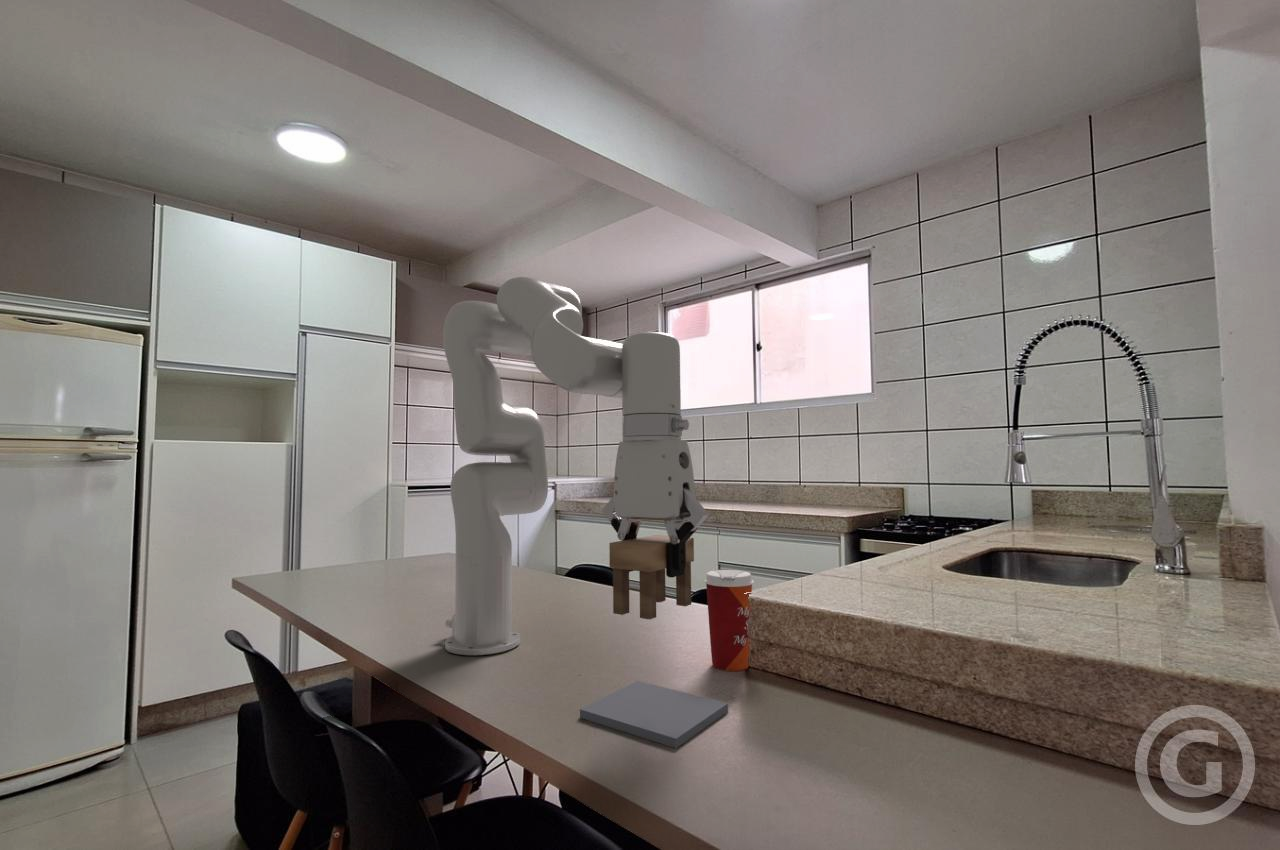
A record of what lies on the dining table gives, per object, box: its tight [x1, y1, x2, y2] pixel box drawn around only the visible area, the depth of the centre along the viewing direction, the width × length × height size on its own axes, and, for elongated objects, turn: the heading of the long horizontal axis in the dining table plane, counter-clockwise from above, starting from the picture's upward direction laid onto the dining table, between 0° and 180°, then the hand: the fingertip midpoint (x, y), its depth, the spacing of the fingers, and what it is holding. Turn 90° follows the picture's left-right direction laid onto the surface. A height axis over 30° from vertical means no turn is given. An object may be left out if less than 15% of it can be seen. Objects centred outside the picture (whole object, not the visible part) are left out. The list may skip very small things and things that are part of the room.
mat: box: [579, 680, 729, 749], centre depth 74 cm, size 14×12×1 cm
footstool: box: [608, 534, 695, 620], centre depth 76 cm, size 10×6×8 cm, turn 144°
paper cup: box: [703, 569, 755, 672], centre depth 93 cm, size 8×8×14 cm
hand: (653, 571), depth 76 cm, fingers closed on footstool, 6 cm apart
